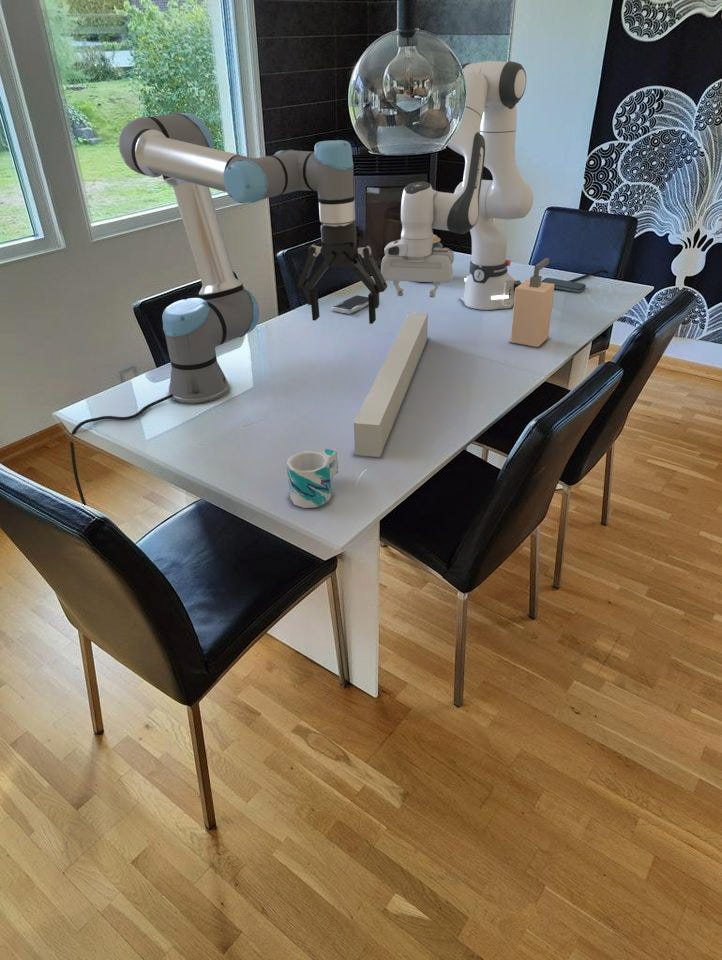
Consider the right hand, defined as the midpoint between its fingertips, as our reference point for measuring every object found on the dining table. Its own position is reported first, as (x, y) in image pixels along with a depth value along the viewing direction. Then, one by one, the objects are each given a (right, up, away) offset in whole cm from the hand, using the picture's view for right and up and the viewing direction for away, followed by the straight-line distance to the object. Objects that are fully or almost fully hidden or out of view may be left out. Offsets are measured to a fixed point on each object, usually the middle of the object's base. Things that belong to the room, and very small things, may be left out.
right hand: (416, 296), depth 193 cm
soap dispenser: (+35, -10, +8) cm, 38 cm away
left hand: (-20, -16, -40) cm, 48 cm away
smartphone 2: (+57, +16, +48) cm, 76 cm away
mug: (-25, -55, -57) cm, 84 cm away
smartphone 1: (-19, +7, +39) cm, 43 cm away
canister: (+8, +24, +64) cm, 69 cm away
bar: (-6, -29, -17) cm, 34 cm away
